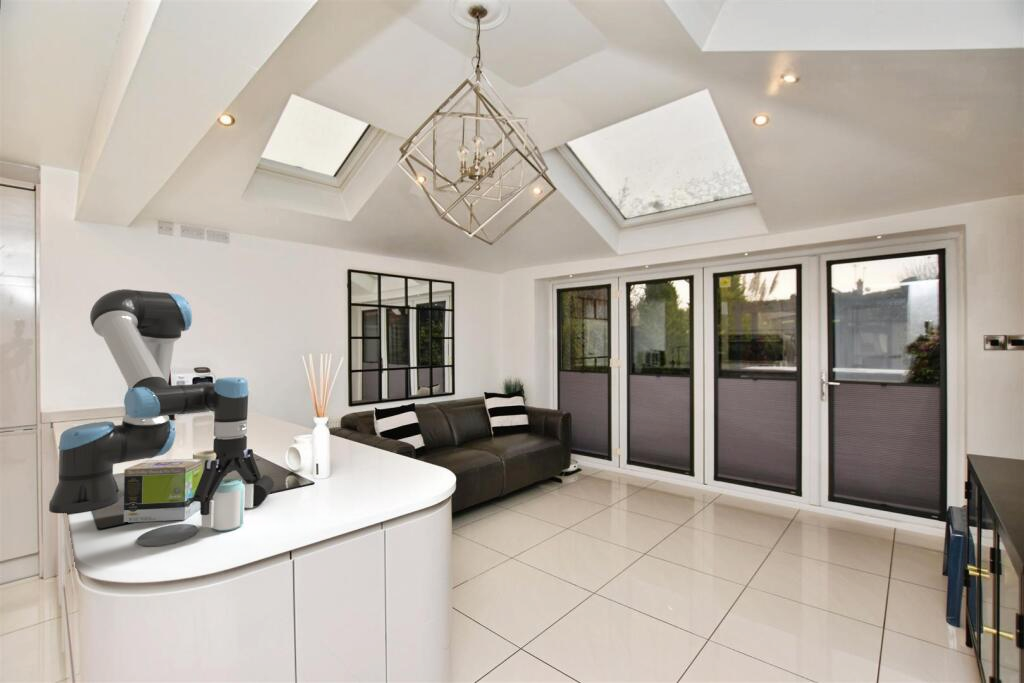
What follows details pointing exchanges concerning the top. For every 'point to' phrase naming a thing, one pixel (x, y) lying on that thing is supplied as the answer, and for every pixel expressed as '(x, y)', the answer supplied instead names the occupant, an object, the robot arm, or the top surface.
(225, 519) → the can
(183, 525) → the coaster
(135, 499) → the tea box
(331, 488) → the top surface
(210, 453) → the character mug
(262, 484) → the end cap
